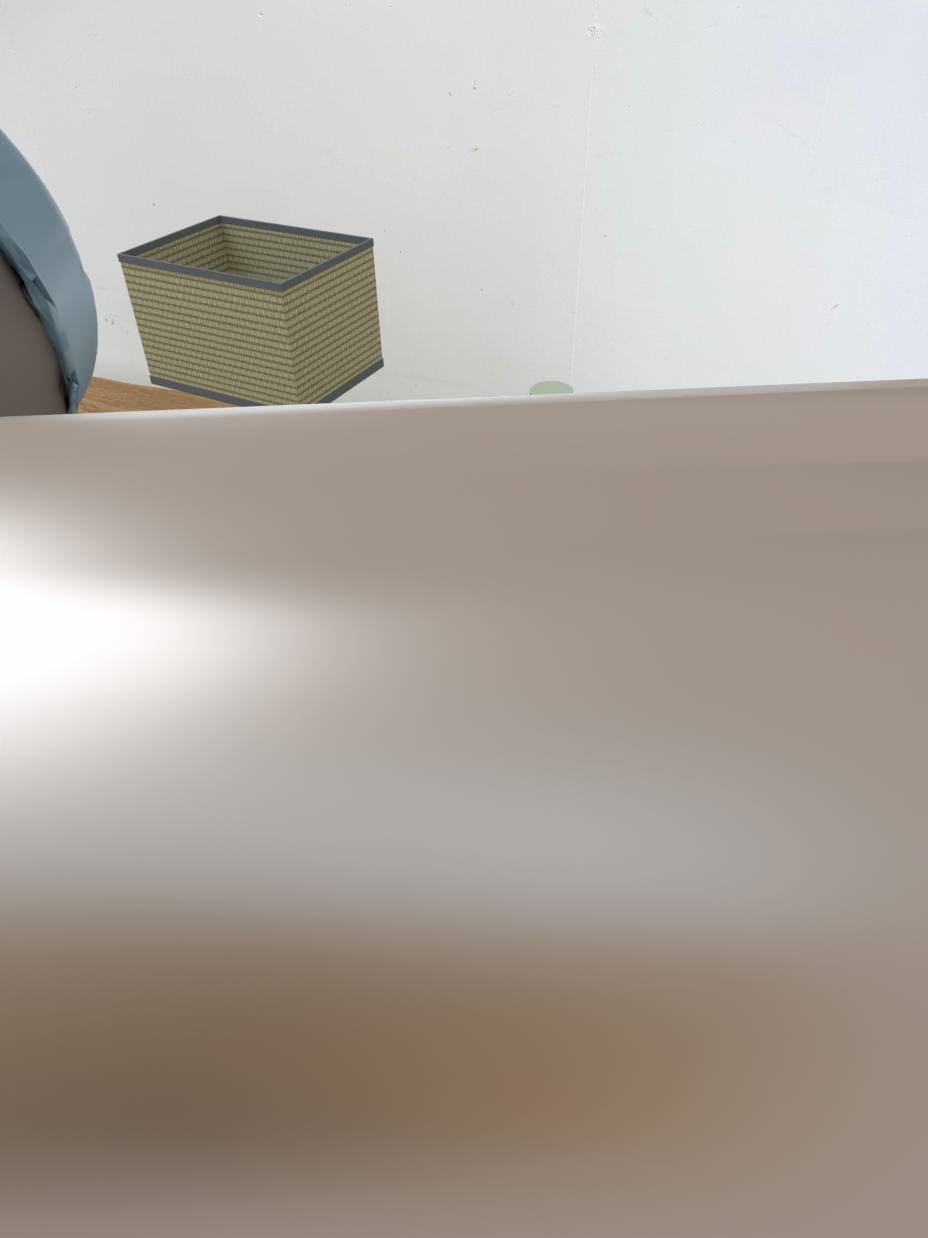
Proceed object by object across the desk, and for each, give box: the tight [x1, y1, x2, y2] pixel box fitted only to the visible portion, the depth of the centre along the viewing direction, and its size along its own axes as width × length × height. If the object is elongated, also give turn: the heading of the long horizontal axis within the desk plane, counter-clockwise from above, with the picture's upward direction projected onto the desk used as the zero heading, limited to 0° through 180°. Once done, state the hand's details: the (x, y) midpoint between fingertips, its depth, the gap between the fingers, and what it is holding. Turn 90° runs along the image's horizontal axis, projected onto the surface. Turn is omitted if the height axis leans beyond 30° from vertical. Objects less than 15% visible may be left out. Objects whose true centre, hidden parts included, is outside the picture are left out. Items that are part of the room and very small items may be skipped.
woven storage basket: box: [116, 214, 385, 407], centre depth 88 cm, size 18×14×33 cm
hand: (792, 716), depth 45 cm, fingers open, 13 cm apart
